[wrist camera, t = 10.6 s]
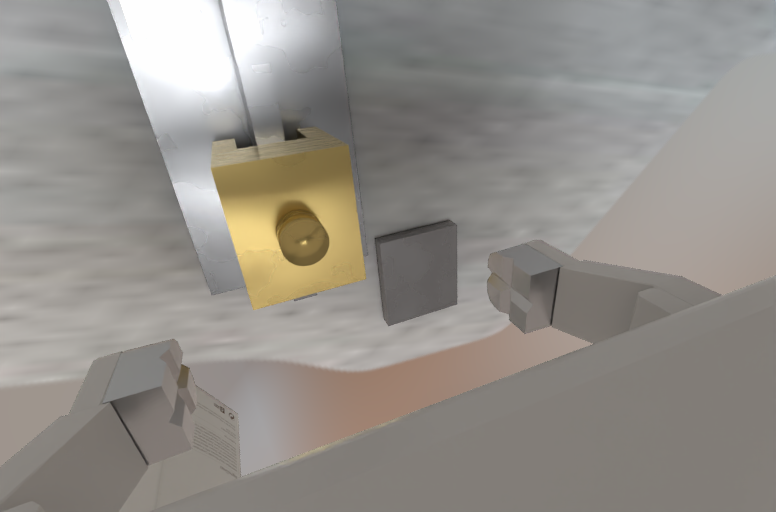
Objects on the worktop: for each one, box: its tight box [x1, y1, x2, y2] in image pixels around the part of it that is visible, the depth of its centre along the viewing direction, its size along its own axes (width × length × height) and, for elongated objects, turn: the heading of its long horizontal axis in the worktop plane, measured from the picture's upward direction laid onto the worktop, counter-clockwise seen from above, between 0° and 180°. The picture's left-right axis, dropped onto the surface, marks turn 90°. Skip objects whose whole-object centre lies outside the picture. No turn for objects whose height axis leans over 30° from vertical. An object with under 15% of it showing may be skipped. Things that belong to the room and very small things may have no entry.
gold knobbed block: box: [211, 126, 366, 310], centre depth 17 cm, size 5×6×7 cm
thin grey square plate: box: [375, 220, 457, 326], centre depth 29 cm, size 6×7×1 cm
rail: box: [107, 0, 368, 301], centre depth 17 cm, size 10×22×8 cm, turn 5°
